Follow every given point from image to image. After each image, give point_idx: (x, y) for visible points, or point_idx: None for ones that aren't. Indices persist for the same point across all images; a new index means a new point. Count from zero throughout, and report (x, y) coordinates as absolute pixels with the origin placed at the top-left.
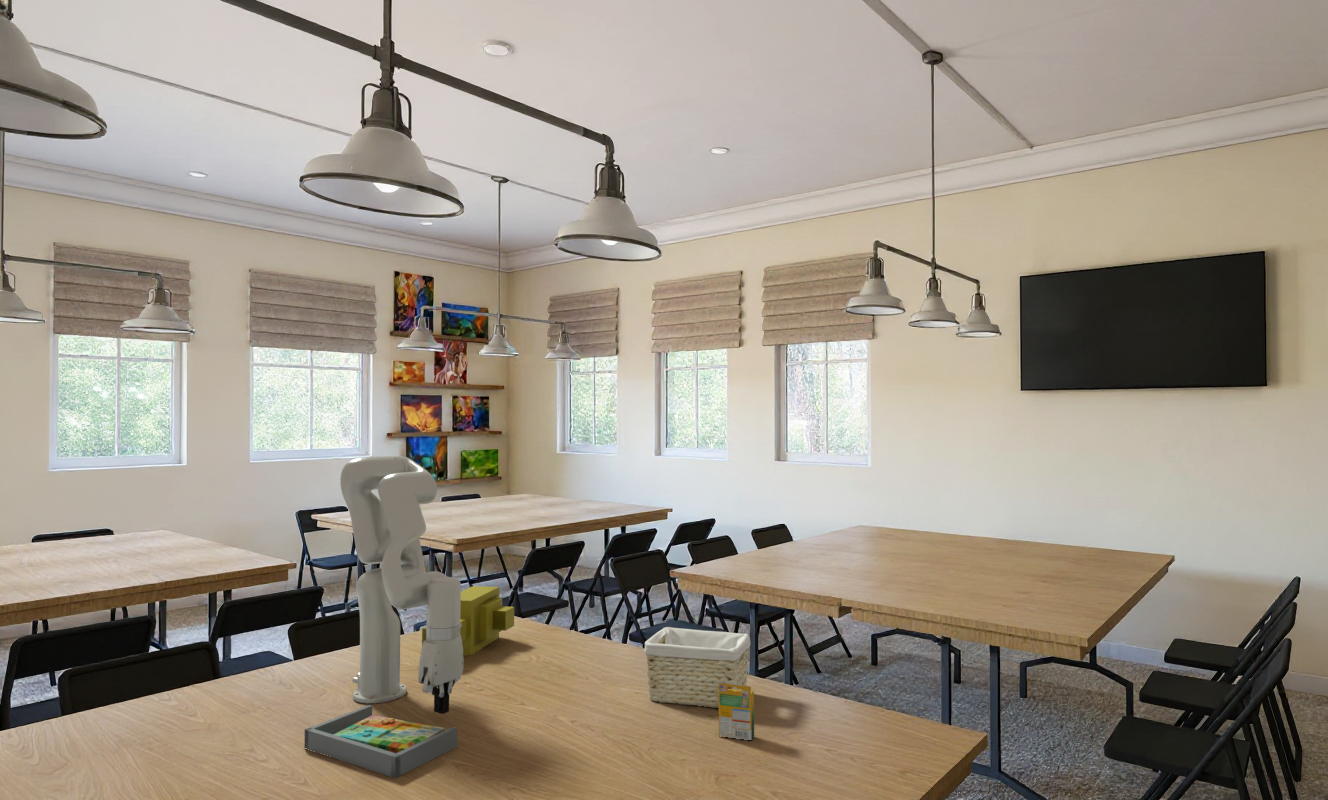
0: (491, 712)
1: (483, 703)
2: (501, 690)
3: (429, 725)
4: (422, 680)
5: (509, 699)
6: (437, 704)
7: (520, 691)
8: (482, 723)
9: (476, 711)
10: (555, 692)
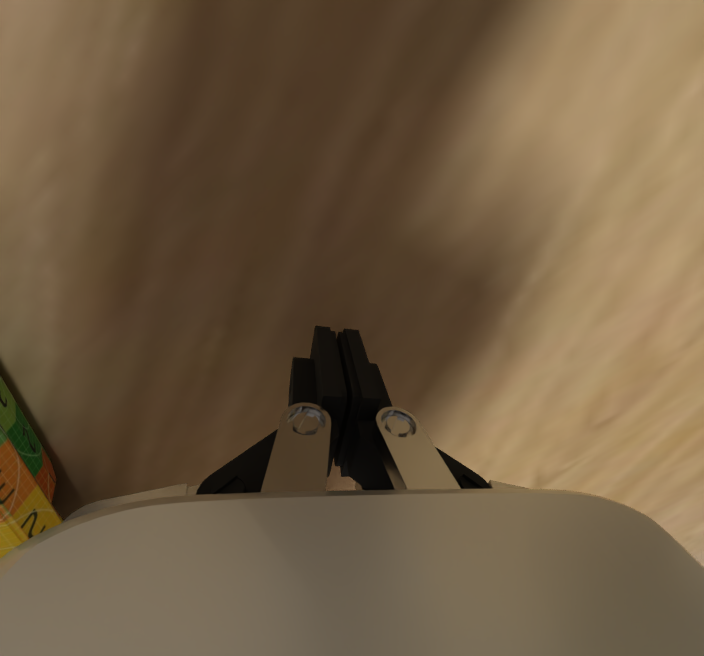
0: (451, 455)
1: (543, 382)
2: (693, 358)
3: (13, 541)
4: (115, 549)
5: (584, 433)
6: (289, 402)
7: (664, 420)
8: (346, 487)
9: (452, 409)
10: (635, 498)
